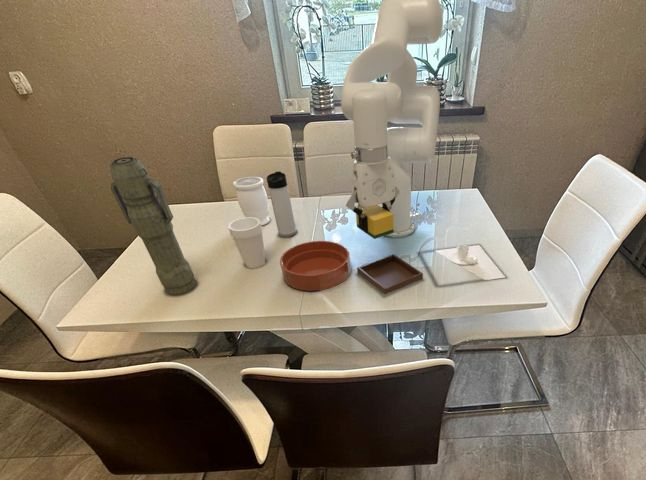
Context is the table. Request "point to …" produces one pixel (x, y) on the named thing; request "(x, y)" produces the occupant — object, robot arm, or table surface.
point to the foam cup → (249, 240)
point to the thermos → (151, 223)
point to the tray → (389, 274)
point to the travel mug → (281, 204)
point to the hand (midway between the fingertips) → (374, 226)
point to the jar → (252, 198)
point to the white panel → (473, 261)
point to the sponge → (378, 222)
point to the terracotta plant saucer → (315, 265)
